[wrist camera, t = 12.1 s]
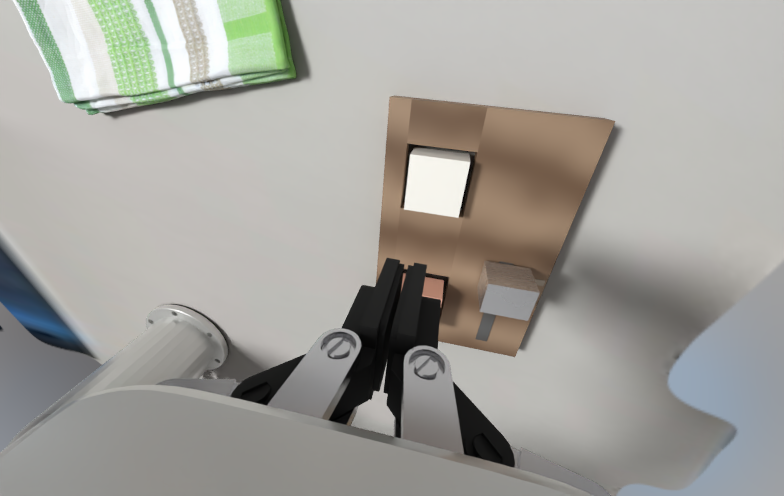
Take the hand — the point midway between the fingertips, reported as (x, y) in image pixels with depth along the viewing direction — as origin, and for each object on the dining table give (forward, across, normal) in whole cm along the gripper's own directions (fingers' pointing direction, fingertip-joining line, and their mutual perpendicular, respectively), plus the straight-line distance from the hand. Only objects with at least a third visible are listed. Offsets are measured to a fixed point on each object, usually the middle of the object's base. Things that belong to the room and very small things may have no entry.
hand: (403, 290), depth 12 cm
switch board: (+17, -4, +6) cm, 18 cm away
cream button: (+17, 0, 0) cm, 17 cm away
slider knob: (+15, -8, +8) cm, 18 cm away
